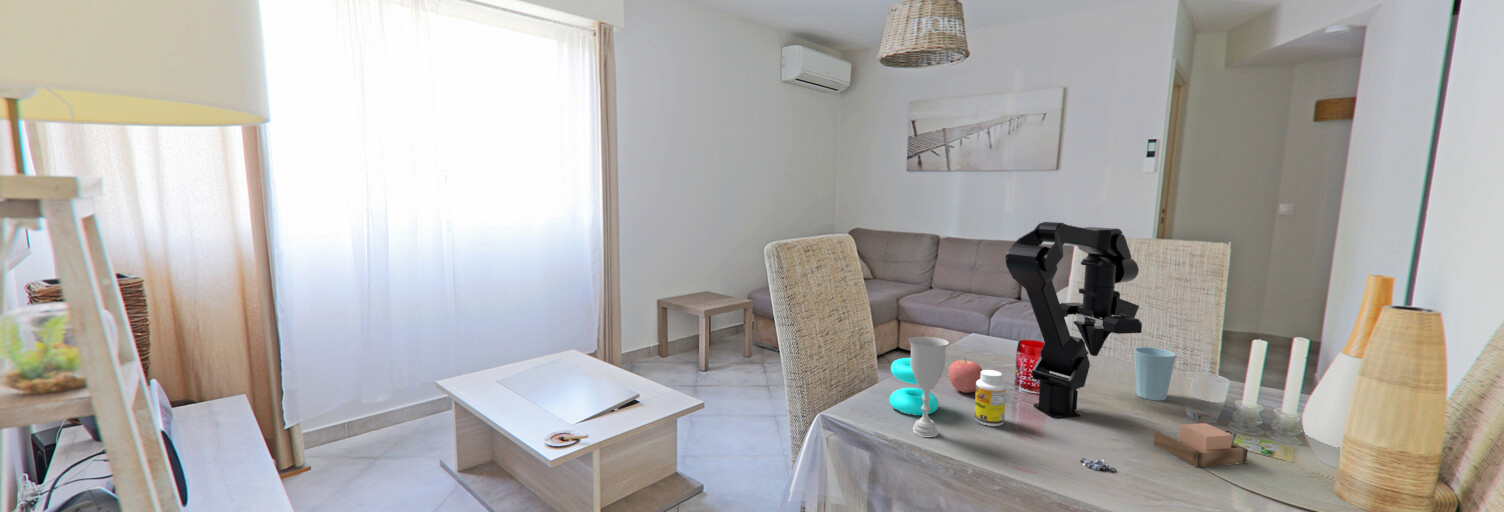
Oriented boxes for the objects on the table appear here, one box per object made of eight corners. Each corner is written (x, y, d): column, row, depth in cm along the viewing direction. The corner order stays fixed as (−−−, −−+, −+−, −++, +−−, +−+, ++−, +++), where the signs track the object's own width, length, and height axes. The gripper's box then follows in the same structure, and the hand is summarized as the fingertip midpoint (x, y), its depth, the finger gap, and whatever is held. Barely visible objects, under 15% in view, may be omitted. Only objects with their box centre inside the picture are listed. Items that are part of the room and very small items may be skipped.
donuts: (881, 361, 123) (910, 353, 129) (879, 406, 124) (909, 396, 130) (920, 373, 115) (949, 364, 121) (918, 421, 116) (947, 410, 122)
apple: (948, 395, 131) (949, 361, 130) (947, 384, 138) (948, 352, 137) (983, 398, 129) (985, 364, 128) (980, 388, 136) (982, 354, 135)
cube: (1203, 464, 98) (1206, 436, 98) (1178, 451, 103) (1180, 424, 103) (1229, 462, 99) (1232, 435, 99) (1202, 449, 104) (1205, 423, 103)
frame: (1196, 467, 97) (1198, 453, 97) (1153, 444, 106) (1154, 431, 106) (1246, 463, 99) (1247, 449, 98) (1199, 441, 107) (1200, 428, 107)
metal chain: (1077, 457, 103) (1076, 447, 103) (1130, 467, 98) (1130, 456, 98) (1068, 472, 98) (1068, 461, 98) (1124, 483, 93) (1124, 472, 92)
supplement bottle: (969, 416, 119) (971, 368, 118) (996, 416, 119) (998, 368, 118) (981, 427, 113) (983, 377, 112) (1009, 427, 114) (1011, 376, 112)
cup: (1141, 388, 136) (1145, 345, 134) (1178, 398, 129) (1183, 353, 128) (1123, 394, 132) (1127, 349, 131) (1161, 405, 125) (1165, 358, 124)
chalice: (945, 428, 113) (948, 338, 111) (944, 442, 107) (948, 347, 105) (906, 423, 115) (909, 335, 113) (903, 436, 109) (906, 344, 107)
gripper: (1168, 292, 117) (1162, 367, 119) (1100, 278, 136) (1096, 343, 137) (1119, 293, 116) (1113, 369, 117) (1057, 279, 134) (1053, 344, 136)
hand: (1094, 355), depth 127 cm, fingers closed
